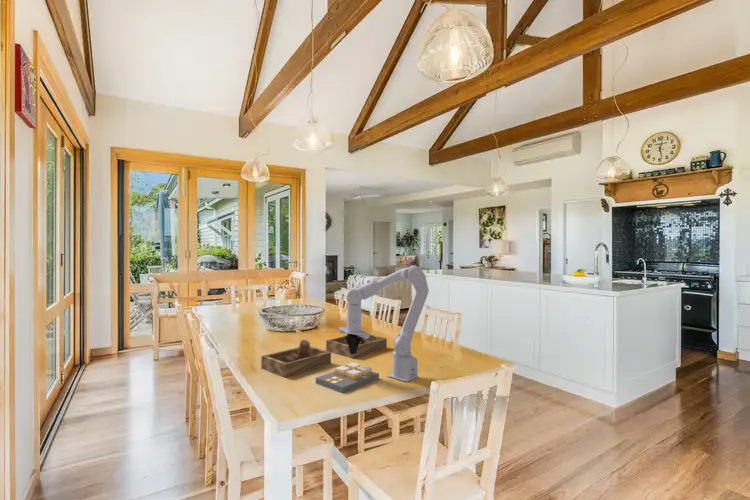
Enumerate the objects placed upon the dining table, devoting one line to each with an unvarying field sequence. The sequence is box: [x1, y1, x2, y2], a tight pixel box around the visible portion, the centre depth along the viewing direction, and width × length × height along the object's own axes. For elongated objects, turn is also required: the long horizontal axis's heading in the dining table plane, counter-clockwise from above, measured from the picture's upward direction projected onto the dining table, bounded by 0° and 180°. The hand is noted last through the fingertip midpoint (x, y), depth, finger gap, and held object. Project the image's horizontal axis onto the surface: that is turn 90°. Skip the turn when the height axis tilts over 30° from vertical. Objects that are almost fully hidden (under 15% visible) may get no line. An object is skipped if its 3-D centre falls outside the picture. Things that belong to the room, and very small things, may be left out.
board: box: [315, 371, 380, 394], centre depth 151 cm, size 14×20×2 cm
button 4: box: [334, 365, 350, 377], centre depth 153 cm, size 4×4×2 cm
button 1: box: [357, 365, 373, 376], centre depth 154 cm, size 4×4×2 cm
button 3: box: [345, 362, 361, 370], centre depth 158 cm, size 4×4×2 cm
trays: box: [260, 333, 388, 378], centre depth 181 cm, size 18×60×5 cm, turn 140°
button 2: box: [346, 369, 361, 380], centre depth 149 cm, size 4×4×2 cm
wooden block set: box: [285, 339, 311, 363], centre depth 166 cm, size 18×9×10 cm, turn 143°
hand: (353, 353), depth 158 cm, fingers closed
